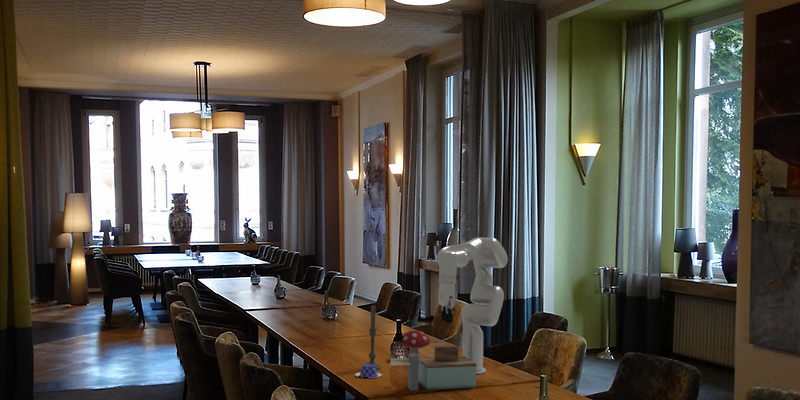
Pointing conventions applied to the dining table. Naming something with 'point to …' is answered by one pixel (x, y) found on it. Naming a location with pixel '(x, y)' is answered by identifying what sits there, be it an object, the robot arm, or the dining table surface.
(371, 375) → the pudding
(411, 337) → the decorative mushroom
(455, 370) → the toolbox
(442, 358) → the toolbox lid
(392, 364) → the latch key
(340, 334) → the dining table surface
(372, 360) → the candlestick holder
